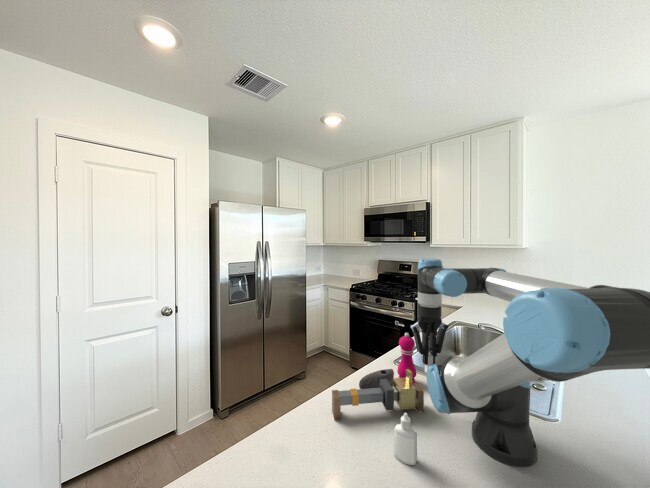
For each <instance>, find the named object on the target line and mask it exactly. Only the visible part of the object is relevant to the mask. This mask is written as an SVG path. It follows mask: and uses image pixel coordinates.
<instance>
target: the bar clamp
mask: <svg viewBox="0 0 650 488" xmlns="http://www.w3.org/2000/svg"><path fill="white" fill-rule="evenodd" d="M412 385H413V386H414V387H415V408H414V409H415V410H416V412H417V413H422V412H424V410H425V409H424V404H425V400H424V399H425V398H424V397H425V395H424V394H425V391H424V389H423V388H422V387H421V385H419V383H415V384H412ZM392 388H393V389H394V402H395V401H399V390H398V389H397V387H396V386H395V387H393V386H392ZM382 402H385V391H384V389H383V387H382V388H370V389H360V388H358V389H357V388H356V387H355V388H349V390H338V389H332V390H331V412H332V415H333V420H334V421H339V420H341V419H342V418H341V417H342V416H341V409H342V408H341V407H342V406H351V405H352V407H355V406H356V407H357V406H359V405H364V404H365V405H366V404H374V403H375V404H376V403H382Z"/></svg>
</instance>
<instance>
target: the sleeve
mask: <svg viewBox="0 0 650 488" xmlns="http://www.w3.org/2000/svg"><path fill="white" fill-rule="evenodd" d="M395 386H396V387H397V389H398V390H399V401H394V403H396V404H397V406H398V407H399V409H400V410H409V409H415V387H414V386H413V385H412V372H411V370H410V369H406V377H405V378H399V377H394V378H393V386H392V387H395Z"/></svg>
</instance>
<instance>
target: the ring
mask: <svg viewBox="0 0 650 488" xmlns="http://www.w3.org/2000/svg"><path fill="white" fill-rule="evenodd" d="M382 387H383V389H384V391H385V402H381V403H382V405H383V407H384V409H385V411H386V412H387V411H388V412H389V411H394V410H395V404H394V403H395V401H394V389H393V388H392V387H393V386H391V385H390V383H389V382H388V381H387V379H380V388H382Z"/></svg>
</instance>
